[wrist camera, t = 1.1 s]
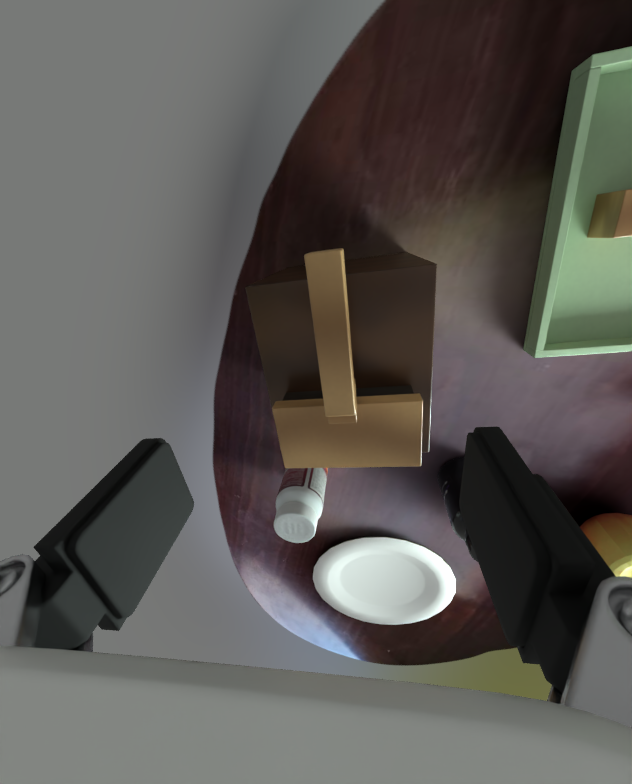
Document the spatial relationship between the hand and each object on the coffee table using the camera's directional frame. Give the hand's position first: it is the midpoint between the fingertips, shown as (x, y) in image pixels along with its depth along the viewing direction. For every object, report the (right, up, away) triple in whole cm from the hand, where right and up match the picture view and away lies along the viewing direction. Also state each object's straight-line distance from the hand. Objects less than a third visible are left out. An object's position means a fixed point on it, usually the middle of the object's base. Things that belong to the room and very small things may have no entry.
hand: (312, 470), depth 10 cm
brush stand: (+4, +10, +27) cm, 29 cm away
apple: (+42, -17, +35) cm, 57 cm away
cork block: (+27, +19, +18) cm, 38 cm away
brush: (+2, +5, +14) cm, 15 cm away
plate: (+12, -31, +47) cm, 58 cm away
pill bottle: (-1, -9, +37) cm, 38 cm away
